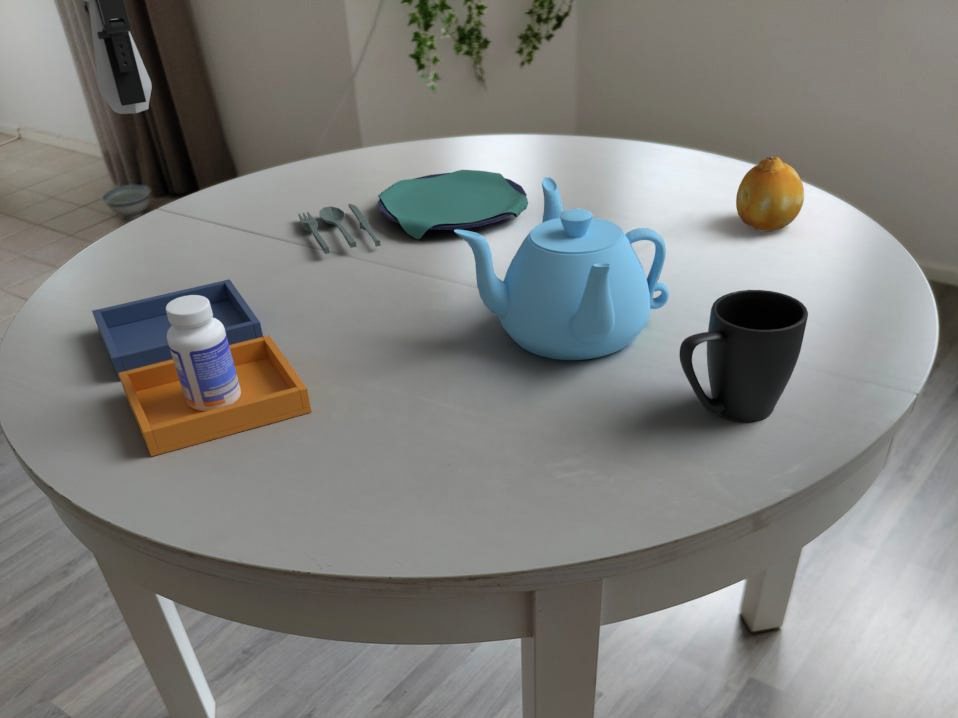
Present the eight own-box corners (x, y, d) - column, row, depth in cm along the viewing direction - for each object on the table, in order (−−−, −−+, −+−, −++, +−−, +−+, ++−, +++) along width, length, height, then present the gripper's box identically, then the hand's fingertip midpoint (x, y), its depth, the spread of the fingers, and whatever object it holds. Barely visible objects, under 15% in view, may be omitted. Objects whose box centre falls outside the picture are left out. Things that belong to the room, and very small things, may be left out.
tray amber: (151, 456, 86) (142, 432, 84) (125, 396, 95) (117, 372, 93) (311, 412, 91) (307, 388, 89) (274, 357, 99) (269, 334, 97)
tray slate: (119, 381, 97) (111, 358, 95) (99, 332, 105) (91, 310, 103) (265, 344, 101) (260, 321, 99) (234, 300, 110) (229, 278, 108)
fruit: (711, 203, 118) (749, 150, 111) (751, 191, 122) (790, 140, 115) (750, 253, 117) (790, 203, 110) (788, 240, 121) (830, 191, 114)
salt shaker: (97, 116, 107) (57, -21, 98) (118, 101, 111) (82, -32, 102) (145, 116, 106) (109, -22, 97) (164, 101, 110) (132, -33, 101)
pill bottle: (250, 387, 94) (227, 292, 87) (228, 415, 90) (202, 319, 83) (200, 383, 95) (174, 289, 88) (176, 410, 91) (147, 315, 84)
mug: (647, 409, 88) (656, 312, 82) (750, 376, 92) (767, 281, 85) (699, 451, 83) (713, 351, 76) (806, 414, 86) (829, 316, 80)
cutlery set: (549, 225, 122) (549, 207, 120) (324, 267, 115) (321, 248, 114) (496, 177, 135) (495, 160, 133) (292, 212, 129) (289, 195, 127)
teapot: (455, 348, 99) (447, 229, 90) (545, 281, 110) (546, 169, 101) (599, 388, 92) (606, 263, 83) (681, 312, 102) (694, 194, 94)
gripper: (114, -167, 87) (179, 110, 103) (80, -176, 99) (143, 73, 115) (30, -161, 85) (110, 122, 101) (6, -170, 97) (81, 83, 113)
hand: (127, 95), depth 108 cm, fingers closed on salt shaker, 6 cm apart
